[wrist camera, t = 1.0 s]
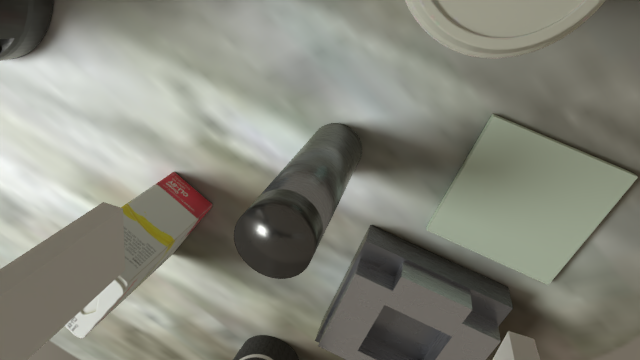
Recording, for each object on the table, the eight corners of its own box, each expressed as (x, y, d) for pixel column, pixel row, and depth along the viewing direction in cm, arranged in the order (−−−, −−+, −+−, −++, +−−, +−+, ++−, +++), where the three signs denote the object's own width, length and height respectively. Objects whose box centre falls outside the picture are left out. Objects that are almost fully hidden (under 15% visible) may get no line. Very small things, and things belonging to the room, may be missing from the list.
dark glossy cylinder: (305, 159, 33) (226, 257, 21) (321, 114, 32) (245, 193, 19) (350, 179, 33) (297, 291, 21) (369, 136, 31) (324, 229, 19)
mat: (426, 226, 33) (426, 230, 33) (492, 113, 28) (493, 115, 28) (546, 280, 32) (548, 285, 32) (634, 173, 28) (638, 177, 27)
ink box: (174, 168, 37) (70, 236, 27) (215, 205, 38) (130, 286, 27) (133, 222, 41) (28, 301, 31) (171, 256, 42) (81, 344, 31)
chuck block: (322, 321, 40) (308, 357, 36) (370, 224, 34) (361, 255, 30) (438, 377, 39) (438, 421, 35) (508, 287, 33) (517, 327, 29)
